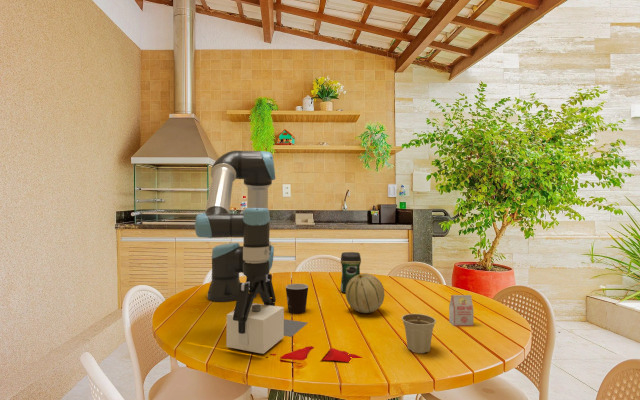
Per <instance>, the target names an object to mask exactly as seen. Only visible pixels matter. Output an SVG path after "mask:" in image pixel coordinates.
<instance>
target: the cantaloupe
mask: <svg viewBox="0 0 640 400" xmlns="http://www.w3.org/2000/svg"><path fill="white" fill-rule="evenodd" d="M345 298H346V301H347V303H348V305H349V306H350V309H351V308H352V309H353V310H354V311H356V312H358V313H361V314H371V313H374V312H375V311H377V310H378V309H379V308H381V306H382V305H383V303H384V300H385V289H384V286H383V283H382V282H381V280H380V279H379V278H377V277H376V276H375V275H373V274H370V273H360V274H359V275H356V276H355V277H353V278H352V279H350V281H349V282H348V284H347V287H346V293H345Z"/></svg>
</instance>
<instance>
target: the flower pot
mask: <svg viewBox="0 0 640 400" xmlns="http://www.w3.org/2000/svg"><path fill="white" fill-rule="evenodd" d="M401 320H402V321H403V325H404V330H405V331H404V332H405V338H406V345H407V349H408V350H410V351H411V352H413V353H416V354H425V353H429V352H430V351H431V344H432V338H433V332H434V331H433V330H434V327H435V324H436V323H437V321H436V318H434V317H432V316H430V315H428V314H422V313H408V314H404V315H402V316H401Z"/></svg>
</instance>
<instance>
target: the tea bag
mask: <svg viewBox="0 0 640 400" xmlns="http://www.w3.org/2000/svg"><path fill="white" fill-rule="evenodd" d="M472 300H473V299H472V295H471V294H465V295H464V294H461V295H459V294H457V295H456V294H451V296H450V301H449V306H448V307H449V315H448V316H449V318H448V320H449V323H450V325H452V326H453V327H474V304H473V301H472Z"/></svg>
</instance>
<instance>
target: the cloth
mask: <svg viewBox="0 0 640 400" xmlns="http://www.w3.org/2000/svg"><path fill="white" fill-rule="evenodd" d="M314 348H315V347H314V346H311V345H309V346H305V347H303V348H298V349H296V350H294V351H291V352H287V353H285V354H283V355H282V356H279V357H280V363H289V364H290V363H291V364H302V363H300V362H296V361H304V360H306V359H308V356H309V353H310V352H311V351H312V350H314ZM348 354H349V352H347V351H345V350H339V349H337V348H332V347H330V348H329V349H328V351H327V352H326V353H325V354H324V356H323V357H322V358H321V360H320V362H322V361H327V362H328V361H334V362H343V363H348V362H349V361H350V360H351V359H352V358H362V359H363V357H362V356H360V355H357V354H355V353H350V354H349V355H348ZM276 355H277V353H270V354H269V356H274V357H275V356H276ZM350 357H352V358H350ZM267 358H269V357H268V356H266V359H267ZM290 360H291V361H290ZM292 360H293V361H292Z"/></svg>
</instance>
